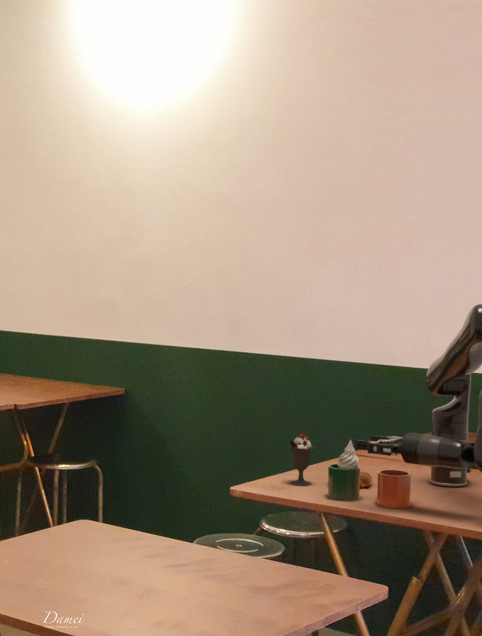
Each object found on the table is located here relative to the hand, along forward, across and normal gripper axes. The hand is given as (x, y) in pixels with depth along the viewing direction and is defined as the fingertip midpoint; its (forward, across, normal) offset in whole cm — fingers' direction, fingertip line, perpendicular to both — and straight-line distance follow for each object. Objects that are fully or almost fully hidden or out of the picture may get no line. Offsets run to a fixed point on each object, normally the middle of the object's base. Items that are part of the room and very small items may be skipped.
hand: (363, 441), depth 276 cm
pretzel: (+11, -14, +15) cm, 23 cm away
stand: (+5, 0, +15) cm, 16 cm away
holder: (-8, -1, +15) cm, 17 cm away
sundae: (+22, -7, +15) cm, 28 cm away
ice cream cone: (+5, 0, +15) cm, 16 cm away
